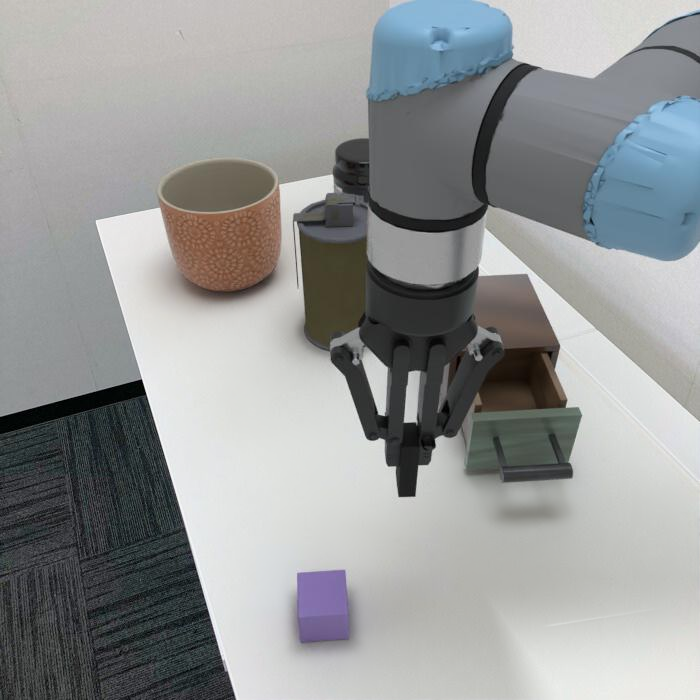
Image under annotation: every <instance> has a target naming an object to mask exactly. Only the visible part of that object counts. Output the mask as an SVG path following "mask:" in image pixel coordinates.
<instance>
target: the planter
mask: <svg viewBox="0 0 700 700" xmlns="http://www.w3.org/2000/svg"><path fill="white" fill-rule="evenodd" d="M280 190H281V189H280V181H279V176H278V174H277V172H276V171H275V170H274V169H273V168H271V167H270V166H268V165H267V164H265V163H262V162H261V161H257V160H253V159H250V158H243V157H232V156H227V157H226V156H223V157H222V156H221V157H210V158H204V159H200V160H195V161H191V162H188V163H185V164H182V165H180V166H178V167H176V168H174V169H172V170H171V171H169V172H168V173H167V174H165V175H164V176H163V177H162V178H161V179H160V181H159V182H158V184H157V187H156V194H157V200H158V205H159V209H160V213H161V217H162V221H163V225H164V230H165V233H166V238H167V241H168V245H169V248H170V252H171V255H172V257H173V260H174V262H175V265H176V267H177V269H178V270H179V272H180V273H181V274H182V275H183V276H184V277H185V278H186V279H187V280H188V281H189V282H191V283H193V284H194V285H197V287H200V288H203V289H206V290H209V291H213V292H219V293H220V292H221V293H222V292H223V293H229V292H231V293H232V292H237V291H242V290H246V289H249V288H251V287H253V286H255V285H257V284H258V283H260V282H261V281H263V280H265V279H266V278H267V277H268V276H269V275H270V274H271V273H272V272H273V270H274V269H275V267H276V266H277V264H278V262H279V259H280V256H281V250H282V239H283V238H282V237H283V236H282V235H283V234H282V233H283V232H282V212H281V211H282V210H281V209H282V208H281V191H280Z"/></svg>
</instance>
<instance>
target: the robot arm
mask: <svg viewBox="0 0 700 700" xmlns="http://www.w3.org/2000/svg"><path fill="white" fill-rule="evenodd" d="M513 30H514V28H513V23H512V20H511V19H510V17H509V15H508V14H507V13H506V12H505V11H503V10H502V9H501V8H496V7H493V6H490V5H489V3H486V2H483V1H478V0H409V1H405V2H402V3H400V4H397V5H395V6H393V7H390V8H389V9H388V10H386V11H385V12H384V13H382V14H381V16H380V17H379V18H378V19H377V22H376V23H375V25H374V27H373V32H372V40H371V44H372V45H371V57H370V71H369V84H368V87H367V88H366V94H365V98H366V100H367V115H368V116H367V119H368V120H367V121H368V122H367V123H368V138H369V186H368V209H367V256H368V260H367V263H366V307H365V311H364V313H363V314H362V315H361V317H360V319H359V321H358V328H356V329H354V330H353V331H351V332H349V333H347V334H344V333H343V332H340V331H336V332H333V333H332V334H331V335H330V350H329V352H330V353H329V354H330V362H331V364H333V365H334V367H335V368H336V369H337V370H338V371H339V372H340V374H342V375H343V376H344V378H345V381H346V383H347V387H348V390H349V392H350V396H351V399H352V401H353V402H352V403H353V405H354V407H355V409H356V413H357V417H358V419H359V422H360V425H361V427H362V430H363V434H364V436H365V439H366V440H368V441H370V442H376V441H378V440H379V439H381V440H384V456H385V457H384V459H385V464H386V466H387V467H388V468H391V467H392V468H393V467H394V468H395V479H396V481H395V482H396V488H397V497H398V498H416V495H417V484H418V483H417V482H418V474H419V466H429V465H430V463H431V462H432V457H433V451H435V449H436V448H437V443H436V439H437V438H439V437H442V436H443V437H444V438H446V439H452V438H455V437H456V436H457V435H458V434H459V432H460V429H461V428H462V423H463V421H464V419H465V417H466V415H467V413H468V411H469V409H470V407H471V405H472V403H473V401H474V399H475V397H476V395H477V393H478V391H479V389H480V387H481V385H482V383H483V381H484V379H485V377H486V375H487V372H488V371H489V370H490V369H491V368H492V367H493V366H494V365H495V364H496V363H497V362H498V361H500V360H501V359H502V358H503V356H504V355H505V351H504V348H503V344H502V341H501V338H500V335H499V332H498V329H497V328H495V327H488V328H486V329H483V328H482V327H480V326H478V325H477V323H476V322H475V316H474V314H473V311H474V304H475V297H476V290H477V282H478V276H480V275H479V274H480V268H479V265H480V263H481V261H482V255H483V246H484V239H485V230H486V222H487V216H488V209H489V206H490V207H492V208H496V209H500V210H503V211H506V212H509V213H510V214H514V215H517V216H519V217H522V218H525V219H528V220H531V221H533V222H536V223H538V224H541V225H543V226H547V227H550V228H553V229H555V230H558V231H560V232H564V233H566V234H569V235H572V236H575V237H578V238H580V239H583V240H586V241H589V242H591V243H593V244H595V245H596V246H597V247H601V248H604V249H606V250H612V249H614V250H617V251H624V252H627V253H630V254H635V255H638V256H641V257H642V256H643V257H647V258H650V259H653V260H657V261H661V262H676V261H679V260H682V259H683V258H685V257H687V256H689V254H691V253H692V252H693V251H694V250H695V249H696V247H697V246H698V245H699V244H700V9H696V10H693V11H690V12H688V13H685V14H683V15H680V16H675V17H673V18H671V19H669V20H667V21H666V22H665V23H664V24H663V25H661V26H659V27H656V28H655V29H654V30H653V31H651V33H649V35H647V36H646V37H645V38H644V39H643V40H642V41H641V43H639V44H638V45H637V46H635V47H634V48H633V49H632V50H630V51H628V52H627V53H626V54H625V55H623V56H622V57H621V58H619V59H618V60H617V61H615V62H614V63H612V64H611V65H610V66H608V67H607V68H606V69H604V70H603V71H601V72H600V73H599V74H597V75H596V76H594V77H587V76H581V75H575V74H571V73H566V72H560V71H555V70H549V69H544V68H542V67H541V66H537V65H532V64H530V63H527V62H523V61H519V60H516V59H514V58H513V57H514V52H513V50H514V49H515V46H514V44H513V38H514V37H513V35H514V34H513V32H514V31H513ZM364 345H365V346H366V348H367V349H368V350H370V352H371V353H372V354H373V355H374V356H375V357H376V358H377V359H378V360H379V362H381V363H382V364H383V365H384V367H386V368H387V376H386V377H387V378H386V397H385V412H384V414H379V411H378V408H377V404H376V400H375V398H374V395H373V392H372V388H371V386H370V382H369V379H368V375H367V372H366V369H365V366H364V361H363V358H364V347H365V346H364ZM466 346H468V348H467V350H466V352H465V354H464V356H463V358H462V361H461V363H460V365H459V367H458V369H457V372H456V374H455V376H454V378H453V381H452V383H451V385H450V387H449V389H448V392H447V394H446V396H445V398H444V400H443V403H442V402H441V405H439V404H440V397H441V395H440V387H441V384H442V382H443V373H444V366H445V365H447V364H448V363H449V362H450V361H451V360H452V359H453V358H454V357H455V356H457V355H458V354H459V353H460V352H461V351H462V350H463V349H464V348H465V347H466ZM416 371H418V372H419V384H418V395H417V408H416V421H412V422H405V414H406V413H405V412H406V401H407V387H408V386H409V375H410V373H411V372H416ZM439 406H440V407H439Z"/></svg>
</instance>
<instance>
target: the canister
mask: <svg viewBox="0 0 700 700" xmlns="http://www.w3.org/2000/svg"><path fill="white" fill-rule="evenodd" d="M359 200H360V198H359V196H358V195H356V196H355V195H354V194H338V193H334V192H327V193H326V194H325V198H324V199H322V200H319V201H315V202H313V203H310V204H309V205H307V206H306V207H304V208H302V209H301V210H300V211H299V212H294V213H293V215H292V231H293V243H294V257H295V272H296V284H297V288H299V286H300V285H299V274H298V272H299V271H298V257H297V245H296V231H295V222H296V225H297V228H298V237H299V250H300V252H299V253H300V265H301V279H302V293H303V306H304V320H305V322H304V325H303V331H304V334H305V337H306V339H308V340H309V342H311V344H313V345H314V346H316V347H318V348H321V349H324V350H326V351H330V335H331V334H332V333H333V332H336V331H340V332H343V333H344V334H347V333H349V332H351V331H353V330H354V329H356V328H358V321H359V319H360V317H361V315H362V314H363V313H364V311H365V307H366V263H367V260H368V256H367V209H368V204H367V203H365V202H362V201H359ZM365 346H366V345H364V346H363V347H365Z"/></svg>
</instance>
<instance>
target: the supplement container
mask: <svg viewBox="0 0 700 700" xmlns="http://www.w3.org/2000/svg"><path fill="white" fill-rule="evenodd" d="M334 162H335V163H334V165H333V167H332V177H333V193H338V194H354V195H355V196H356V195H358V196H359V198H360V200H359V201H362V202H365V203H367V204H368V186H369V137H367V138H365V137H361V138H353V139H349V140H346V141H343V142H342V143H340V144H339V145H337V147H336V148H335V150H334Z"/></svg>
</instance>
